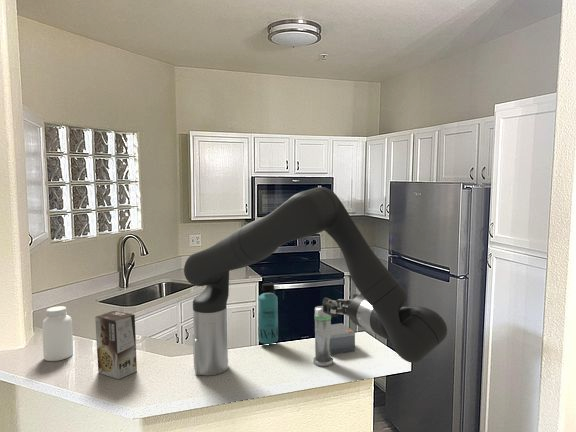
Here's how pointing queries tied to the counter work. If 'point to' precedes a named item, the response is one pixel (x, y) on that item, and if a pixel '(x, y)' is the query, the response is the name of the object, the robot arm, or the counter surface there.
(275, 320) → the beverage bottle
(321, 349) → the clear glass cylinder
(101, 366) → the coffee box
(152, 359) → the counter surface
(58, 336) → the pill bottle
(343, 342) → the stand block
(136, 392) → the counter surface
